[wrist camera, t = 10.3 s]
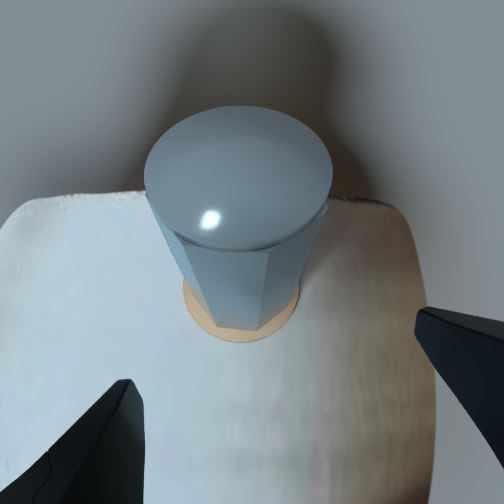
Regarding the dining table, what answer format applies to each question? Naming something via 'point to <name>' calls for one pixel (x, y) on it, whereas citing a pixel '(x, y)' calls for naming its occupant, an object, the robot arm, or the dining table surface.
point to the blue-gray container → (239, 207)
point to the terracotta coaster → (235, 334)
